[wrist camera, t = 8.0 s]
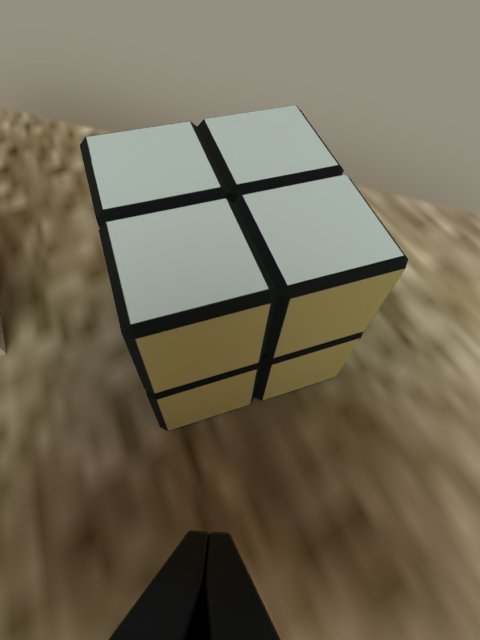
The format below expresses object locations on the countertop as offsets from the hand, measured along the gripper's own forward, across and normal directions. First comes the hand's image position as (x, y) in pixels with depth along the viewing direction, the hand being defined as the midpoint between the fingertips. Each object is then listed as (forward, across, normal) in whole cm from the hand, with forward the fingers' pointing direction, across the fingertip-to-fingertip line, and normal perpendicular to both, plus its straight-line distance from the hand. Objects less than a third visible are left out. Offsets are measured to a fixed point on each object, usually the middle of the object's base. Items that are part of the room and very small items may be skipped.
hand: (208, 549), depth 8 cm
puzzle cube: (+16, 0, -1) cm, 16 cm away
